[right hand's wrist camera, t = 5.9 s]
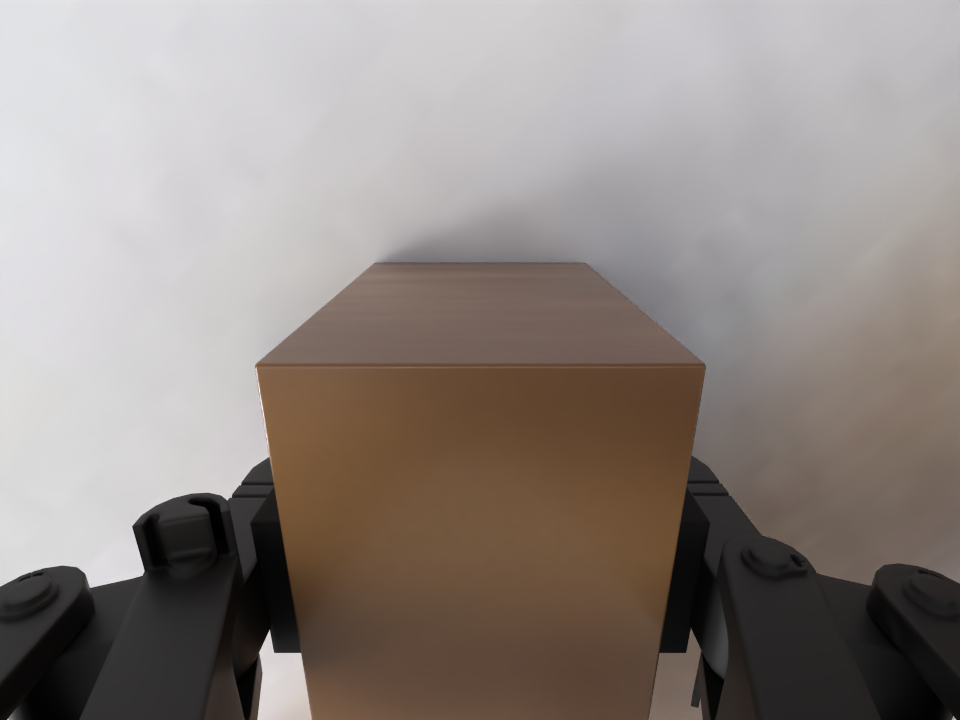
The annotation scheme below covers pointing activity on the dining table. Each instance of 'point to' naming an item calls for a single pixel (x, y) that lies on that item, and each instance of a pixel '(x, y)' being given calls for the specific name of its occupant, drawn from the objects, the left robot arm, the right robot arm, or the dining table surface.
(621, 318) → the post
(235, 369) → the dining table surface
